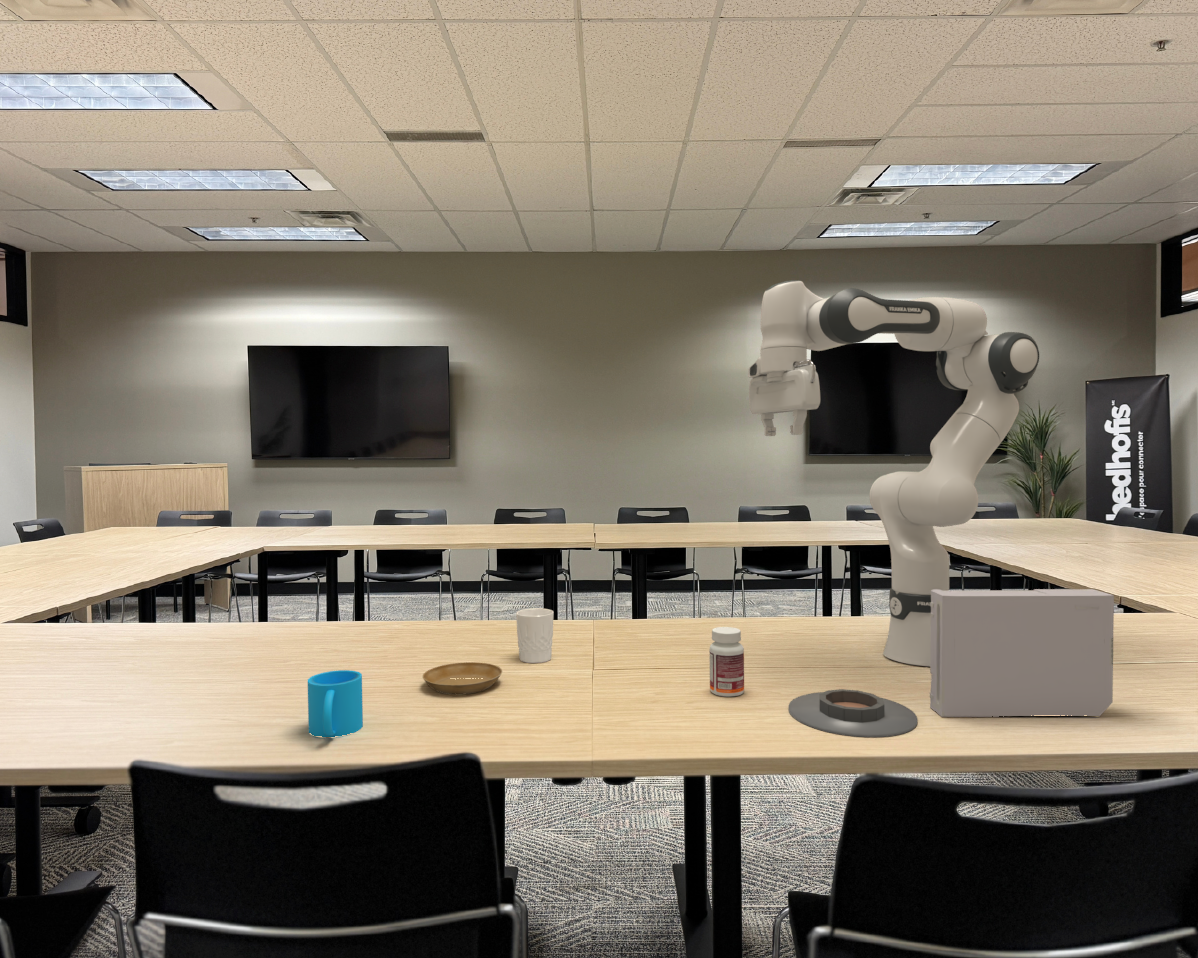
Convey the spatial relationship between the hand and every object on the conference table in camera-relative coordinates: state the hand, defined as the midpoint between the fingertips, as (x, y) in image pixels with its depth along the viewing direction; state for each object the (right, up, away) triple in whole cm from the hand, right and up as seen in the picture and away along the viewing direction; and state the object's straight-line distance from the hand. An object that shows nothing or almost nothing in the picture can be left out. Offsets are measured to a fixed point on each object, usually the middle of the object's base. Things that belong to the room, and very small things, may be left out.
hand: (782, 435), depth 145 cm
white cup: (-50, -47, +11) cm, 69 cm away
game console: (+33, -47, -23) cm, 62 cm away
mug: (-78, -49, -30) cm, 96 cm away
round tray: (+5, -47, -24) cm, 53 cm away
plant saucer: (-62, -48, -6) cm, 78 cm away
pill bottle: (-13, -47, -12) cm, 50 cm away
